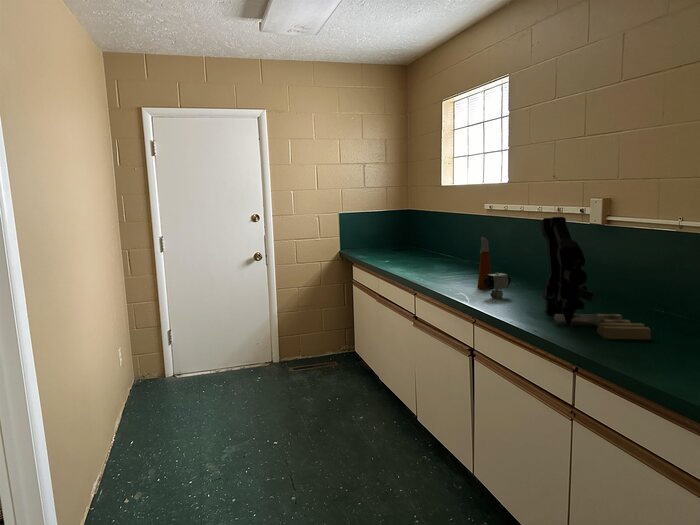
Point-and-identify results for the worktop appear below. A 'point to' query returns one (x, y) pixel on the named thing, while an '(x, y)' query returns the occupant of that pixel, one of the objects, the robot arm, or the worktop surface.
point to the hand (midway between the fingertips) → (566, 322)
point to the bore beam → (611, 318)
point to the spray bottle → (484, 263)
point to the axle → (577, 319)
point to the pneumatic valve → (497, 283)
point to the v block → (623, 331)
